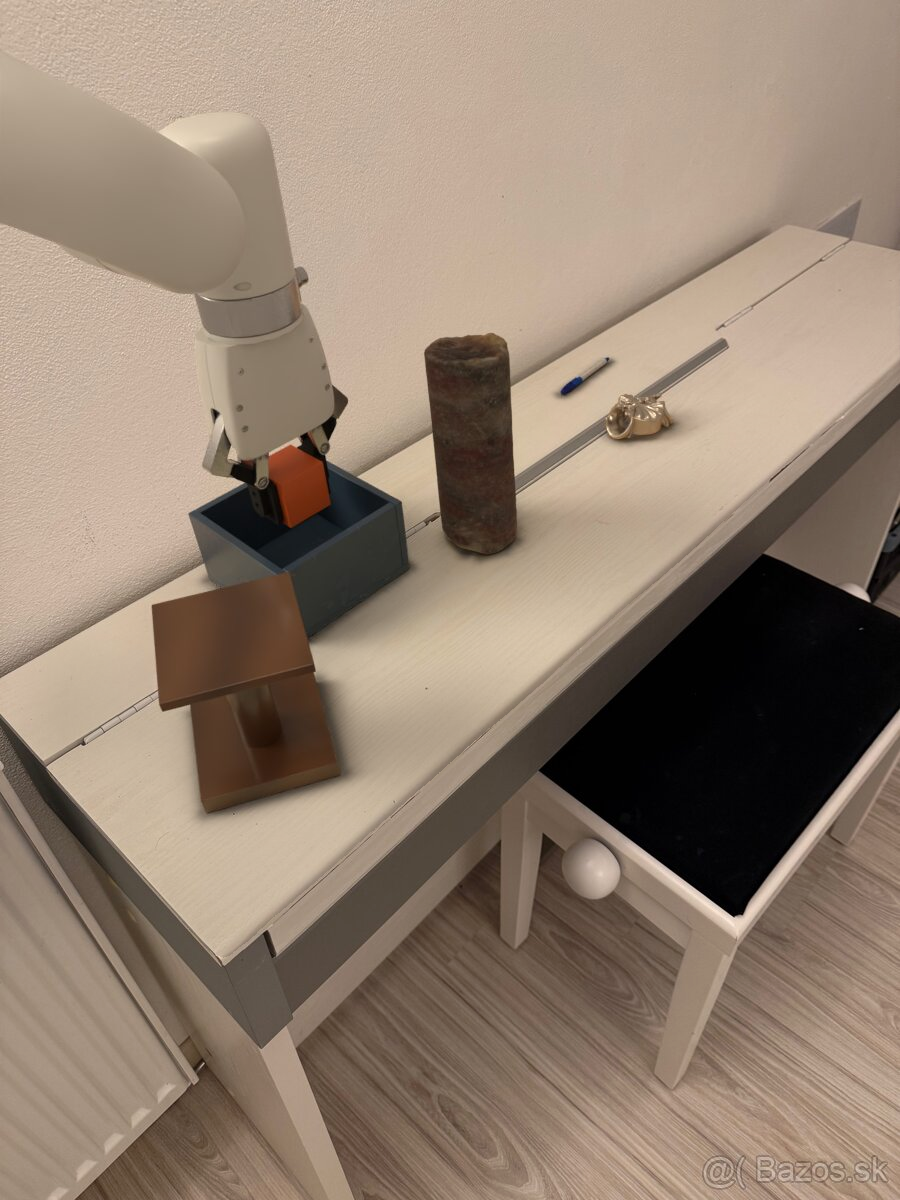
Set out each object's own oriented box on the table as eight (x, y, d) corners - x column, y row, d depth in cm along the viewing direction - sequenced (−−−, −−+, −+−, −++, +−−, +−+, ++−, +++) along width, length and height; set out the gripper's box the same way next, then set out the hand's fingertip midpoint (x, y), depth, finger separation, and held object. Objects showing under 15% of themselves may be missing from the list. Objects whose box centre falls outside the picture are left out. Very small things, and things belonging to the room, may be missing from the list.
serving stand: (205, 813, 62) (158, 704, 54) (194, 713, 69) (150, 604, 61) (340, 775, 64) (314, 663, 56) (315, 681, 71) (289, 571, 63)
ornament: (649, 404, 101) (652, 376, 99) (683, 431, 96) (687, 402, 94) (589, 422, 99) (591, 393, 97) (621, 450, 94) (624, 421, 92)
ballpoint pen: (565, 396, 104) (565, 389, 103) (559, 394, 104) (559, 387, 103) (609, 361, 110) (610, 354, 109) (603, 360, 110) (604, 352, 109)
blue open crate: (297, 645, 75) (280, 577, 69) (209, 579, 82) (187, 513, 77) (410, 568, 81) (402, 501, 76) (319, 513, 89) (306, 448, 84)
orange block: (291, 528, 74) (281, 485, 71) (260, 508, 77) (249, 466, 74) (331, 504, 76) (322, 461, 73) (299, 486, 79) (290, 443, 76)
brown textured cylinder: (428, 548, 84) (409, 356, 70) (456, 505, 88) (443, 319, 75) (502, 563, 81) (497, 368, 68) (527, 518, 86) (527, 328, 73)
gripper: (306, 257, 70) (339, 448, 83) (123, 331, 62) (190, 532, 74) (367, 278, 66) (392, 476, 78) (180, 361, 58) (241, 568, 70)
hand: (294, 501), depth 76 cm, fingers closed on orange block, 4 cm apart
